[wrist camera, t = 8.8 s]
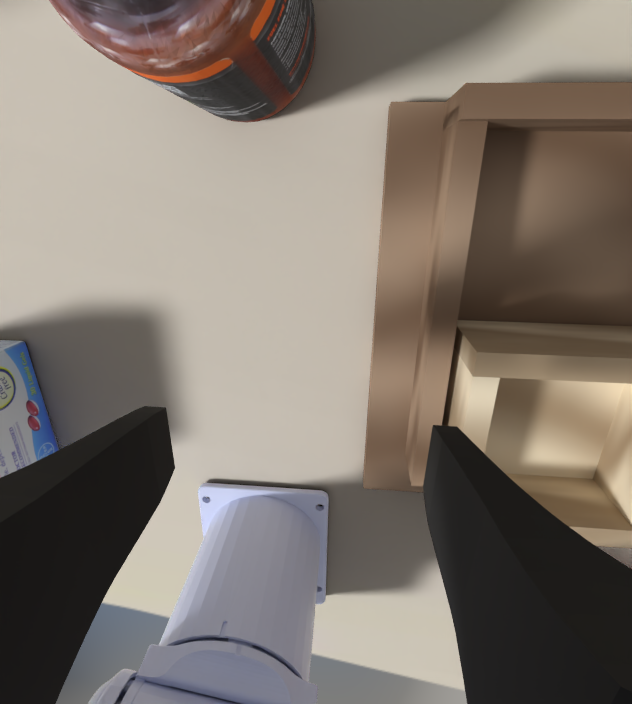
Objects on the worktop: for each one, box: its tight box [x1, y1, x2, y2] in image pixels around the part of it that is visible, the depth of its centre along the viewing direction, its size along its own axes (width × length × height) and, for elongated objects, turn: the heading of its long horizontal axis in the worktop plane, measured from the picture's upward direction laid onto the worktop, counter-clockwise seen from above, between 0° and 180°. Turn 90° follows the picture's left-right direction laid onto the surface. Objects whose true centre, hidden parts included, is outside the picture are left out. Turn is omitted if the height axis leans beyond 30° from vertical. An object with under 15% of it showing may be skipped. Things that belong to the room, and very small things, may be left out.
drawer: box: [442, 320, 632, 548], centre depth 17 cm, size 12×9×8 cm
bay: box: [363, 82, 632, 492], centre depth 18 cm, size 19×16×4 cm
